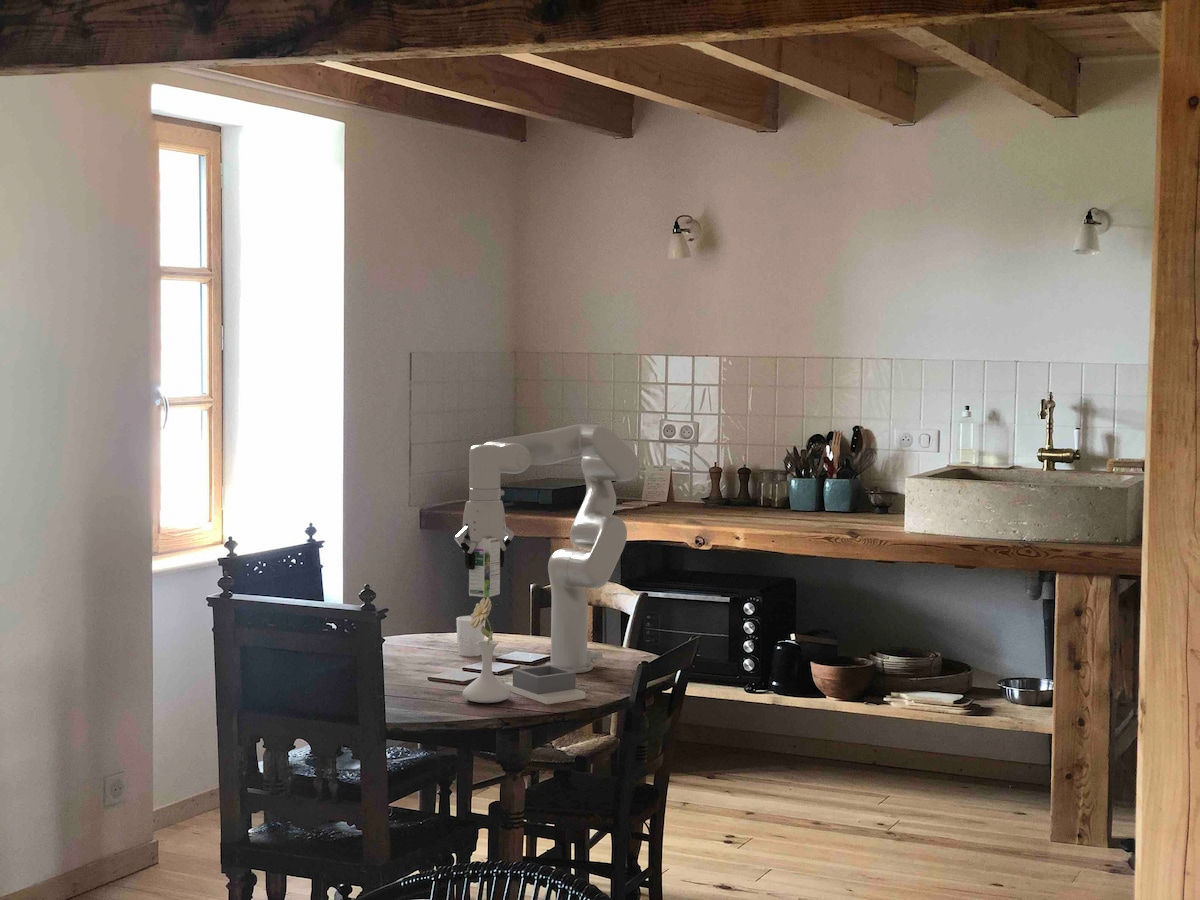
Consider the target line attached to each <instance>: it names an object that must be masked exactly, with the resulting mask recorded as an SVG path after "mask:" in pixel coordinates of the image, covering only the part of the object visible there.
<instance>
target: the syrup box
mask: <svg viewBox="0 0 1200 900" xmlns="http://www.w3.org/2000/svg"><path fill="white" fill-rule="evenodd" d="M473 553H474V554H475V569H474V570H470V569H468V570H469V571H468V572H469V573H468V577H469V578H468V596H469V597H480V598H486V599H487V598H488V597H489V598H491V597H495V596H498V595H500V593H501V587H500V586H501V567H500V541H497V540H496V538H495V537H488V538H483V539H482V541H481V542H480V543H477V544H476V546H475V548H474V550H473Z"/></svg>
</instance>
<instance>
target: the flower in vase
mask: <svg viewBox="0 0 1200 900" xmlns="http://www.w3.org/2000/svg"><path fill="white" fill-rule="evenodd" d="M492 607H493V606H492V601H491V598H490V597H488V598H487V597H482V598H481V600H479V603H478V602H477V603H476V604H475V607H474V609H473V613H471V614H470V616H471V618H473V619H472V620H471V621H470V625H472V628H476V627H477V626H478V627H479V626H480V625H482V624H483V622H484V621H485V622H486V621H487V624H488V627H489V630H488V629H487V628H486V626H485V627H484V626H482V628H481V632H482V634H484V637H486V638H488V639H487V640H484V641H479V642H477V645H478V646H479V648H480V650H481V655H480V656H481V672H480V675H478V677H476V679H474V680H472V682H470V683H469V684H468V685H467V686H466V687H465V688H464V689H463V691H462V697H463V698H464V699H466V700H467V701H470V702H475V703H479V704H490V703H491V704H492V703H499V702H503V701H505V700H507V699H510V697H511V696H512V692H511V691H510V690H509V689H508V688H507V687H506V686H505V685H504V682H502V681H501V680H500V679H498V678H497V677H496V676H495V674H494V672H493V664H492V663H493V655H494V651H495V649H496V647H497V645H498V643H499V642H497V641H495V640H493V634H494V630H492V626H491V623H490V621H489V618H488V616H489V615H490V612H491V609H492Z"/></svg>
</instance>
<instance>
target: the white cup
mask: <svg viewBox="0 0 1200 900" xmlns="http://www.w3.org/2000/svg"><path fill="white" fill-rule="evenodd" d="M455 619H456V637H457V638H456V639H457V651H458V652H457V653H458V656H460V657H461V656H462V657H471V658H472V657H480V656H482V655H481V650H480V648H479V646H478V645H477V642H479V641H485V635H484V634H482V632H481V628H482V626H484V627H485V628H486V620H485V621H484V622H483V624H482V625H480V626H479V627H478V626H477V627H476V628H472V625H470V621H471V620H472V619H473V618H471V615H462V616H458V617H456V618H455Z"/></svg>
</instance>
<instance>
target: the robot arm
mask: <svg viewBox="0 0 1200 900" xmlns="http://www.w3.org/2000/svg"><path fill="white" fill-rule="evenodd" d="M468 456H469V464H468V465H469V471H468V473H469V475H468V477H469V479H468V480H469V481H468V482H469V485H468V486H469V489H468V490H469V494H468V497H469V499H468V500H467V501H466V502H465V504H464V510H463V514H462V515H463V516H462V517H463V518H462V529H461V530H460V531H459V532H458V533H457V534H455V536H454V537H453V539H454V541H455V542H456V544H458V547H460V549H462V552H463V553H464V564H465V569H467V570H469V569H470V570H474V569H475V554H474V553H473V550H474V548H475V546H476V544H477V543H480V542H481V541H482V539H483V538H488V537H495V538H496V540H497V541H500V568H503V567H504V563H505V551H507V547H508V546H509V545H510V543H511V541H512V540H513V538H514V537H515V532H514V531H512V530H511V528H509V527H508V526H507V524H506V515H505V513H506V512H505V507H504V504H503V503H504V502H503V500H502V499H501V498H502V496H505V490H504V489H502V488H501V474H513V475H516V474H517V475H518V474H521V473H523V472H525V471H526V470H527V469H528V468H529V467H530V466H531V465H532V466H545V465H546V466H547V465H548V466H549V465H554V464H558V463H561V462H562V463H563V462H565V461H569V460H573V459H577V458H581V463H580V464H581V470H582V474H583V476H584V480H585V486H586V489H585V492H586V493H585V497H583V498H584V499H583V501H582V502H581V503H582V504H581V505H580V508H579V510H578V511H577V514H576V516H575V518H574V520H573V522H572V525H571V527H570V531H569V535H568V536H569V541H570V542H571V544H573V545H574V546H575V547H578V548H573V547H563V548H559V549H557V550H555V551H554V552H553V553H552V554H551V555H550V557H549V559H548V563H547V564H548V565H547V572H548V577H549V583H550V590H551V609H550V610H551V612H550V615H551V616H550V617H551V619H550V620H551V621H550V622H551V623H550V625H551V626H550V629H551V630H550V661H547V662H546V663H545V664H544V665H554V666H557V667H560V668H563V669H566V670H569V671H572V672H576V674H583V673H587V672H590V671H592V670H593V669H594V664H593V663H591V662H592V661H594V660H602V658H603V652H602V651H595V652H592V651H591V650H588V627H589V626H588V624H589V623H588V621H589V619H588V618H589V617H588V616H589V600H588V596H587V593H586V590H585V588H587V589H593V590H595V589H597V590H598V589H601V588H602V587H604V586H606V584H607V583H608V581H610V579H611V577H612V574H613V572H614V570H615V568H616V566H617V564H618V562H619V559H620V558H621V555H622V553H623V551H624V549H625V546H626V544H627V539H628V530H627V526H626V523H625V522H624V520H623V519H622V518H621V517H619V516H616V515H613V514H614V511H615V509H616V505H617V495H616V492H615V488H614V486H613V485H614V484H613V483H612V482H613V481H614V482H623V483H624V482H629V481H631V480H633V479H634V478H635V477H636V476H637V474H638V473H639V469H640V467H639V466H640V464H639V463H640V462H639V459H638V457H637V454H636V453H635V451H634V450H633V449H632V448H631V447H630V446H629V445H628V444H627V443H625V442H624V441H623V439H622V438H620V436H618V434H616V433H615V432H614V431H613V430H612V429H611V428H609V427H607V426H606V425H602V424H601V425H600V424H584V423H581V424H579V423H577V424H572V425H568V426H564V427H559V428H555V429H551V430H546V431H540V432H534V433H529V434H522V435H516V436H515V435H514V436H508V437H503V438H498V439H494V440H489V441H487V442H485V443H484V444H475V445H472V446H471V447H470V448H469V455H468Z"/></svg>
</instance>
